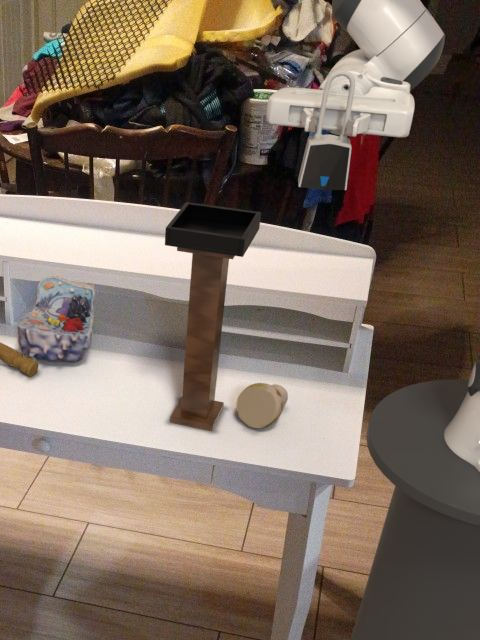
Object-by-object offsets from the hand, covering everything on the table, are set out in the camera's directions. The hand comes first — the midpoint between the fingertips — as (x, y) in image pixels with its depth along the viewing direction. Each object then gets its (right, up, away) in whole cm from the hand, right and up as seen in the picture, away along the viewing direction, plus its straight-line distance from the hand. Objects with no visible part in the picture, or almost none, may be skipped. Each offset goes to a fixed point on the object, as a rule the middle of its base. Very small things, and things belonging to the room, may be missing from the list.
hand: (330, 128), depth 116 cm
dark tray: (-16, -14, +3) cm, 21 cm away
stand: (-16, -37, +23) cm, 46 cm away
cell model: (-38, -12, +44) cm, 60 cm away
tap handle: (-43, -28, +31) cm, 60 cm away
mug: (-5, -37, +23) cm, 44 cm away
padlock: (0, -5, +6) cm, 8 cm away
